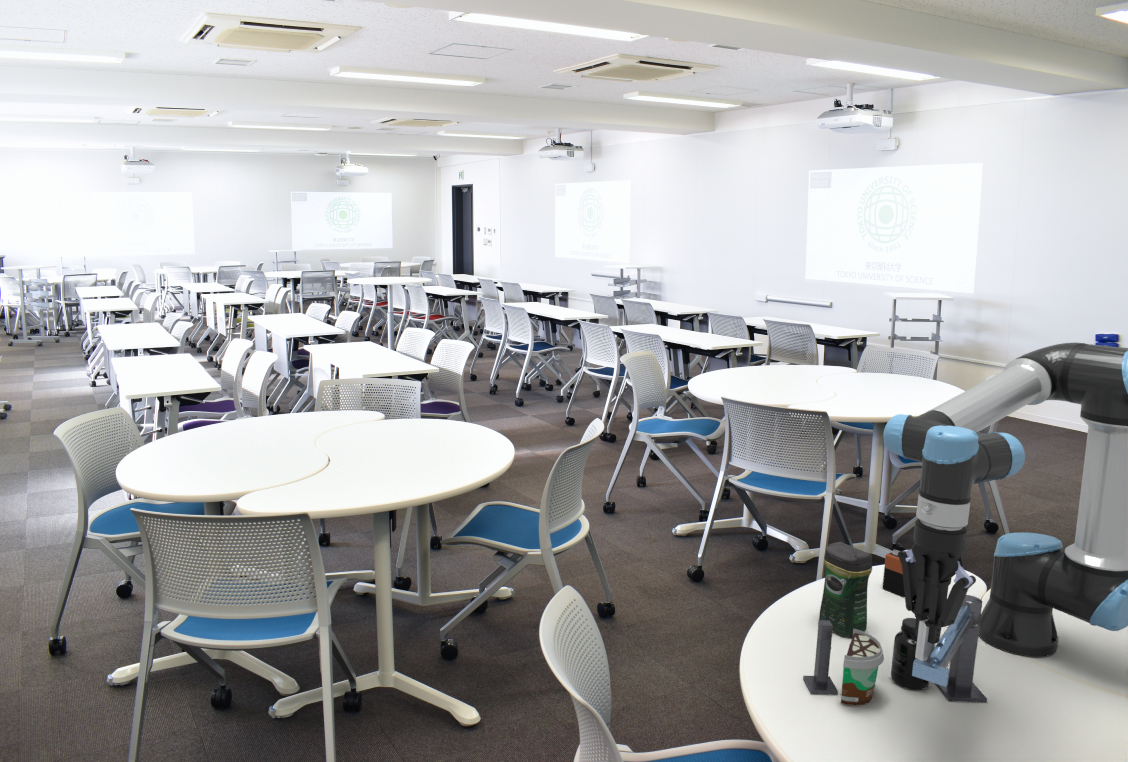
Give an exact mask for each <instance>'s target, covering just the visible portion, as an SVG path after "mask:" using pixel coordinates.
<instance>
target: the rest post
mask: <svg viewBox="0 0 1128 762" xmlns="http://www.w3.org/2000/svg"><path fill="white" fill-rule="evenodd" d="M832 630H833V625H832V624H831V622H830V621H827V620H819V619H818V626H817V637H816V649H815V660H814V670H813V675H803V677H802V679H803V683H804V684H805V687H806V688H807V690H808V692H809V694H810V695H823V696H824V695H826V696H827V695H828V696H829V695H830V696H838V695H839V690H838V689H837V687H836V685H835V683H834V681H833V680H832V678H831V676H830V675H829V674H830V662H831V649H832V639H833V631H832Z"/></svg>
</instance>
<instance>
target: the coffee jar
mask: <svg viewBox="0 0 1128 762" xmlns="http://www.w3.org/2000/svg"><path fill="white" fill-rule="evenodd" d="M823 564H824V571H825V572H824V583H823V590H822V591H823V593H822V597H821V601H820V602H821V604H820V609H819V615H818V621H819V620H827V621H830V622H831V624H832V625H833V630H832V632H834V633H836V634H839V635H840V636H842V637H843V636H844V637H853V629H857V630H860V631H863V632H865V633H866V631H867V627H868V624H867V623H868V586H869V578H870V575H871V573H872V572H873V556H872V554H871V553H869V552H867V551H865V550H862V549H860V548H857V547H855V546H852V545H849V544H846V543H844V542H843V541H837V542H833V543H829V544H828V545H827V547H826V549H825V554H824V557H823Z"/></svg>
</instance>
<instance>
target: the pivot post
mask: <svg viewBox="0 0 1128 762" xmlns="http://www.w3.org/2000/svg"><path fill="white" fill-rule="evenodd" d="M978 642H979V628H978V627H977V625H971V627H970V629H969V630H968V632H967V634H966V636H965V637H964V639H963V641H962V642H961V644H960V646H959V647H958V649H957V651H956V653H955V654H954V656H953V658H952V659H951V661H950V663H949V666H948V667H949V668H948V669H949V678H948V684H947V686H946V687H945V686H942V685H939V684H936V683H933V684H934V685H935V687H937V689H938V690H939V692H940V693H942V695H943V696H944V698H945V699H946V700H947V702H956V703H981V704H988V698H987V696H986V695H985V694H984V693H983V692H982V691H981V690H980V688H978V687H977V685H976V684H975V682H973V679H974V674H975V673H974V672H975V664H976V657H977V649H978Z"/></svg>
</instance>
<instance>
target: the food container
mask: <svg viewBox="0 0 1128 762" xmlns="http://www.w3.org/2000/svg"><path fill="white" fill-rule="evenodd" d="M851 637H852V638H851V641H850V643H849V646H848V649H847V653H846V655H845V654H844V658H843V663H842V665H843V666H842V668H843V671H842V682H841V683H842V685H841V694H840V695H841V696H840V704H842V705H846V706H864V705H865V706H866V705H867V704H870V703H871V701H873V698H874V694H875V693H874V691H875V688H876V684H877V682H876V681H877V678H878V677H877V676H878V672H879V667H880V666H881V665H882V664H883V663H884V660H885V656H884V650H883V647H882V645H881V643H880V641H879V640H878V639H877V638H876V637H875V636H873V635H871V634H869V633H868V632H866V631H865V632H863V631H860V630H857V629H853V636H851Z"/></svg>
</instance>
